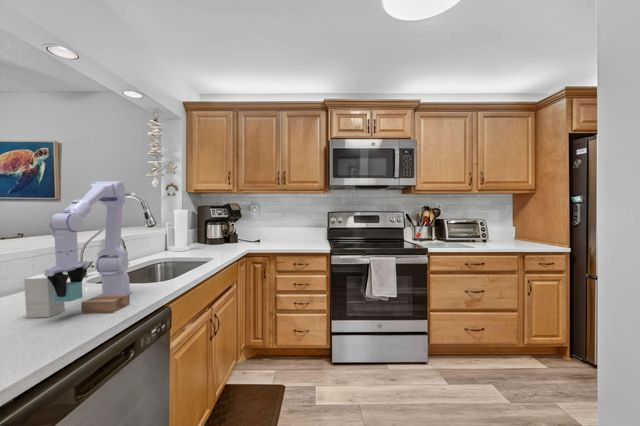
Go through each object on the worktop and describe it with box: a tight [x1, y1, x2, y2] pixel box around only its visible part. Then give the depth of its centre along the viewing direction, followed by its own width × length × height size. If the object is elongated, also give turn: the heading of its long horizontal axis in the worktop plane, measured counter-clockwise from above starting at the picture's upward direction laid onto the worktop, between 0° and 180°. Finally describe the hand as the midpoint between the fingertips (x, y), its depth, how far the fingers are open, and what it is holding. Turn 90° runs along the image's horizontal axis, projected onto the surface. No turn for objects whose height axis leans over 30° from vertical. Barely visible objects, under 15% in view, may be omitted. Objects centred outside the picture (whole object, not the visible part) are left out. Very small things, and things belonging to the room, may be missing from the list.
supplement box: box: [23, 273, 66, 319], centre depth 113 cm, size 7×7×13 cm
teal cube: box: [55, 281, 83, 303], centre depth 110 cm, size 5×5×5 cm
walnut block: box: [80, 293, 131, 315], centre depth 118 cm, size 10×10×4 cm
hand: (68, 294), depth 110 cm, fingers closed on teal cube, 5 cm apart
